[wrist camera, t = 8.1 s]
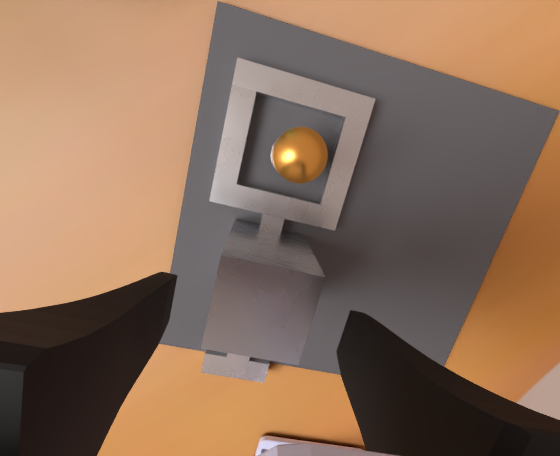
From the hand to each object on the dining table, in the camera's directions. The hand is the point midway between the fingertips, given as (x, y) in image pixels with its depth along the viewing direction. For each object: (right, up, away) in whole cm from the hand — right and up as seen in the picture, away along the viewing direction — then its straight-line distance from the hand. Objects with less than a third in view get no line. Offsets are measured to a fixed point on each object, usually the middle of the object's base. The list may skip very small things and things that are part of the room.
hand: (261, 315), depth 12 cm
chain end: (0, +2, +5) cm, 6 cm away
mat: (+5, +3, +6) cm, 8 cm away
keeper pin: (+1, +7, +4) cm, 8 cm away
